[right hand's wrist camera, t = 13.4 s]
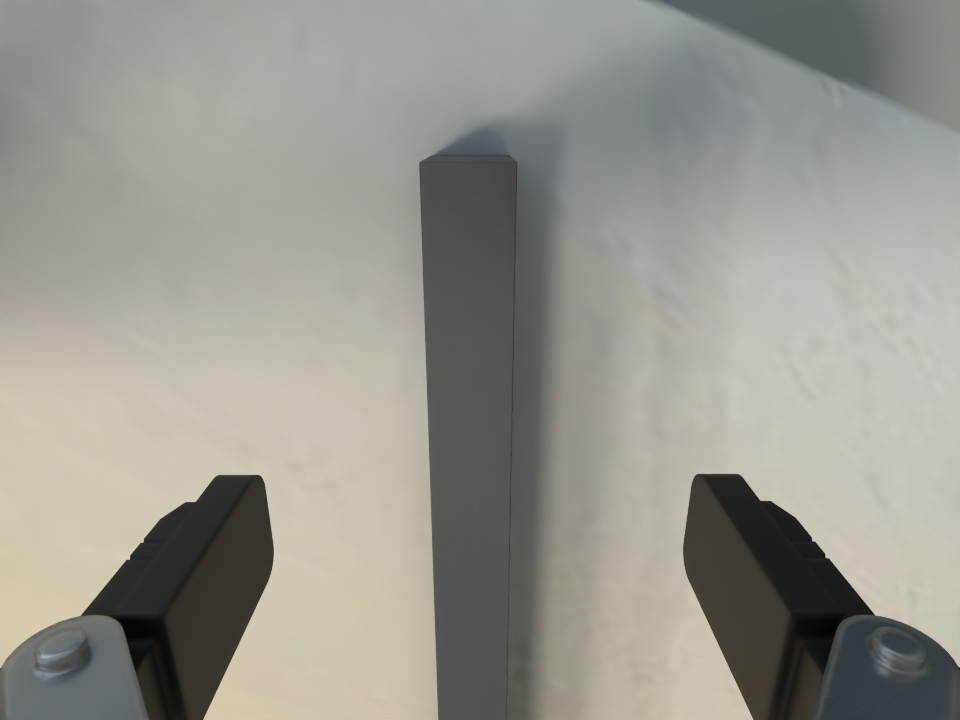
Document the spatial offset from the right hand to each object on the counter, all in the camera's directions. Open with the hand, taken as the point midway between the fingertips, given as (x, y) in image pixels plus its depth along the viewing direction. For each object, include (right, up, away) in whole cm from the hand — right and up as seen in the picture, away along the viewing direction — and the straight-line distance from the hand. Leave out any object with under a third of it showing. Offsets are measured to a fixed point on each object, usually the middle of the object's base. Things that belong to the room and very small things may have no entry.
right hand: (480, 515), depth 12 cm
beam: (0, -22, +34) cm, 41 cm away
